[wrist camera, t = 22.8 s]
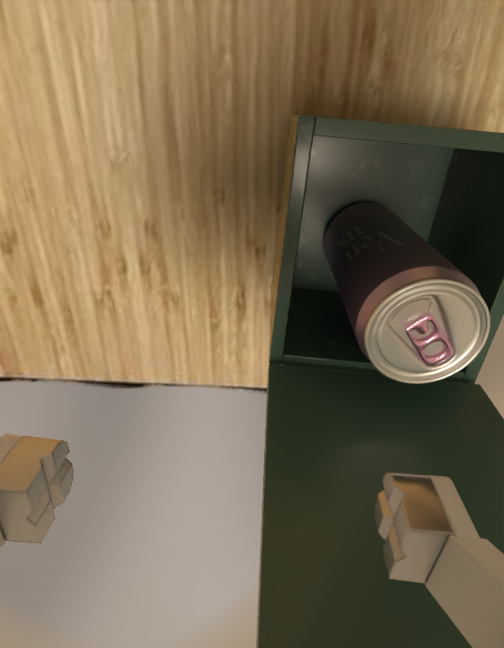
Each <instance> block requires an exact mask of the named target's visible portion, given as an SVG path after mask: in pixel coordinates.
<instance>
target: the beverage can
mask: <svg viewBox="0 0 504 648" xmlns="http://www.w3.org/2000/svg"><path fill="white" fill-rule="evenodd" d="M324 250H325V254H326V257H327V260H328V263H329V265H330V268H331V271H332V274H333V276H334V279H335V282H336V284H337V287H338V290H339V293H340V295H341V298H342V301H343V303H344V306H345V309H346V312H347V314H348V317H349V320H350V322H351V325H352V328H353V331H354V333H355V336H356V339H357V341H358V344H359V347H360V349H361V350H362V352H363V354H364V355H365V356H366V357H367V358H368V359H369V360H370V362H371V364H372V365H373V366H374V367H375V368H376V369H377V370H378V371H379V372H380V373H381V374H383V375H384V376H386V377H388V378H390V379H392V380H395V381H398V382H402V383H409V384H424V383H431V382H435V381H439V380H442V379H445V378H447V377H449V376H452V375H454V374H455V373H457V372H459V371H460V370H462V369H463V368H465V367H466V366H467V365H468V364H470V363H471V362H472V361H473V360H474V359H475V358H476V356H477V355H478V354H479V353H480V351H481V350H482V348H483V346H484V345H485V343H486V340H487V338H488V335H489V330H490V314H489V310H488V307H487V305H486V303H485V301H484V300H483V298H482V297H481V295H480V292H479V290H478V289H477V287H476V286H475V284H474V283H473V282H472V281H471V280H470V279H469V278H468V277H466V276H465V275H464V274H463V273H462V272H461V271H460V270H458V269H457V268H456V267H455V266H454V265H453V264H452V263H450V262H449V261H448V260H447V259H446V258H445V257H444V256H442V255H441V254H440V253H439V252H438V251H437V250H436V249H434V248H433V247H432V246H431V245H430V244H429V243H428V242H426V241H425V240H424V239H423V238H422V237H421V236H420V235H418V234H417V233H416V232H415V231H414V230H413V229H412V228H410V227H409V226H408V225H407V224H406V223H405V222H404V221H402V220H401V219H400V218H399V217H398V216H397V215H396V214H394V213H393V212H392V211H391V210H390V209H388V208H387V207H385V206H383V205H380V204H377V203H359V204H355V205H352V206H350V207H348V208H346V209H345V210H343V211H342V212H340V213H339V214H338V215H337V216H336V217H335V218H334V219H333V221H332V222H331V224H330V225H329V227H328V229H327V232H326V235H325V239H324Z"/></svg>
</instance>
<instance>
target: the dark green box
mask: <svg viewBox="0 0 504 648" xmlns="http://www.w3.org/2000/svg"><path fill="white" fill-rule="evenodd" d="M359 203H377V204H380V205H383V206H385V207H387V208H388V209H390V210H391V211H392V212H393V213H394V214H396V215H397V216H398V217H399V218H400V219H401V220H402V221H404V222H405V223H406V224H407V225H408V226H409V227H410V228H412V229H413V230H414V231H415V232H416V233H417V234H418V235H420V236H421V237H422V238H423V239H424V240H425V241H426V242H428V243H429V244H430V245H431V246H432V247H433V248H434V249H436V250H437V251H438V252H439V253H440V254H441V255H442V256H444V257H445V258H446V259H447V260H448V261H449V262H450V263H452V264H453V265H454V266H455V267H456V268H457V269H458V270H460V271H461V272H462V273H463V274H464V275H465V276H466V277H468V278H469V279H470V280H471V281H472V282H473V283H474V284H475V286H476V287H477V289H478V290H479V292H480V295H481V297H482V298H483V300H484V301H485V303H486V305H487V307H488V310H489V314H490V330H489V335H488V338H487V340H486V343H485V345H484V346H483V348H482V350H481V351H480V353H479V354H478V355H477V356H476V358H475V359H474V360H473V361H472V362H471V363H470V364H468V365H467V366H466V367H465V368H463V369H462V370H460V371H459V372H457V373H455V374H454V375H452V376H449V377H447V378H445V379H442V380H439V381H449V382H459V383H460V382H461V383H469V384H474V383H475V380H476V378H477V376H478V373H479V371H480V369H481V366H482V364H483V362H484V359H485V357H486V355H487V352H488V350H489V348H490V345H491V343H492V340H493V338H494V336H495V333H496V331H497V329H498V326H499V324H500V322H501V319H502V317H503V314H504V133H497V132H486V131H475V130H464V129H453V128H442V127H431V126H420V125H409V124H398V123H387V122H377V121H366V120H355V119H344V118H333V117H322V116H311V115H297V116H293V117H291V120H290V129H289V138H288V146H287V155H286V164H285V173H284V182H283V191H282V200H281V209H280V218H279V227H278V235H277V244H276V253H275V262H274V271H273V280H272V289H271V315H270V343H269V364H278V365H281V364H282V365H288V366H298V367H308V368H318V369H328V370H338V371H348V372H358V373H369V374H379V375H383V374H381V373H380V372H379V371H378V370H377V369H376V368H375V367H374V366H373V365H372V364H371V362H370V360H369V359H368V358H367V357H366V356H365V355H364V354H363V352H362V350H361V349H360V347H359V344H358V341H357V339H356V336H355V333H354V331H353V328H352V325H351V322H350V320H349V317H348V314H347V312H346V309H345V306H344V303H343V301H342V298H341V295H340V293H339V290H338V287H337V284H336V282H335V279H334V276H333V274H332V271H331V268H330V265H329V263H328V260H327V257H326V254H325V250H324V239H325V235H326V232H327V229H328V227H329V225H330V224H331V222H332V221H333V219H334V218H335V217H336V216H337V215H338V214H339V213H340V212H342V211H343V210H345V209H346V208H348V207H350V206H352V205H355V204H359Z"/></svg>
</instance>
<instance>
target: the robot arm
mask: <svg viewBox="0 0 504 648" xmlns="http://www.w3.org/2000/svg"><path fill="white" fill-rule="evenodd" d="M68 453H69V447H68V444H67V442H65V441H62V440H54V439H46V438H37V437H29V436H18V435H10V434H6V435H4V436H2V437H0V547H1V546H2V545H4V544H5V541H14V542H28V543H41V542H42V541H43V539H44V537H45V535H46V533H47V531H48V530H49V528H50V526H51V525H52V523H53V521H54V519H55V515H54V510H53V509H55V508H56V507H57V506H59V505H60V504H62V503H63V502H64V501H65V499H66V497H67V495H68V493H69V491H70V488H71V485H72V481H73V466H72V463H71V462H69V460H67V459H66V456H67V455H68ZM382 484H383V488H384V490H383V491H381V492H380V493H378V495H377V499H376V502H375V522H376V527H377V531H378V534H379V535H380V536H381V537H382V538H383V539H384V540H385V544H384V547H383V550H382V552H383V556H384V560H385V564H386V568H387V572H388V577H389V579H395V580H403V581H410V582H418V583H426V584H425V586H426V587H427V589H428V590H429V591H430V593H431V594H432V595H433V597H434V598H435V599H436V601H437V602H438V603H439V604H440V606H441V607H442V608H443V610H444V611H445V612H446V614H447V615H448V616H449V618H450V619H451V620H452V621H453V623H454V624H455V625H456V627H457V628H458V629H459V631H460V632H461V633H462V635H463V636H464V637H465V639H466V640H467V641H468V642H469V644H470V645H471V646H472V648H504V554H503V553H502V552H501V551H499V550H498V549H497V548H496V547H495V546H494V545H493V544H492V543H490V542H489V541H488V540H487V539H482V538H480V537H479V535H478V533H477V531H476V529H475V527H474V525H473V523H472V521H471V519H470V517H469V514H468V512H467V510H466V508H465V506H464V504H463V502H462V500H461V498H460V496H459V494H458V492H457V490H456V488H455V486H454V484H453V482H452V480H451V479H450V478H449V477H443V476H432V475H423V474H411V473H399V472H386V473H385V475H384V477H383V480H382Z"/></svg>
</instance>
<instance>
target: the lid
mask: <svg viewBox="0 0 504 648" xmlns="http://www.w3.org/2000/svg"><path fill="white" fill-rule="evenodd" d="M386 472H399V473H411V474H423V475H432V476H443V477H449V478H450V479H451V480H452V482H453V484H454V486H455V488H456V490H457V492H458V494H459V496H460V498H461V500H462V502H463V504H464V506H465V508H466V510H467V512H468V514H469V517H470V519H471V521H472V523H473V525H474V527H475V529H476V531H477V533H478V535H479V537H480V538H482V539H487V540H488V541H489V542H490V543H492V544H493V545H494V546H495V547H496V548H497V549H498V550H499V551H501V552H502V553H503V554H504V419H503V417H502V416H501V415H500V413H499V412H498V410H497V409H496V407H495V406H494V405H493V403H492V402H491V400H490V399H489V397H488V396H487V394H486V393H485V392H484V390H483V389H482V387H481V386H480V385H479V384H469V383H459V382H449V381H435V382H431V383H424V384H409V383H402V382H398V381H395V380H392V379H390V378H388V377H386V376H384V375H379V374H369V373H358V372H348V371H338V370H328V369H318V368H308V367H298V366H288V365H278V364H269V369H268V383H267V408H266V430H265V454H264V478H263V501H262V524H261V525H262V526H261V549H260V573H259V595H258V617H257V620H258V621H257V641H256V648H472V646H471V645H470V644H469V642H468V641H467V640H466V639H465V637H464V636H463V635H462V633H461V632H460V631H459V629H458V628H457V627H456V625H455V624H454V623H453V621H452V620H451V619H450V618H449V616H448V615H447V614H446V612H445V611H444V610H443V608H442V607H441V606H440V604H439V603H438V602H437V601H436V599H435V598H434V597H433V595H432V594H431V593H430V591H429V590H428V589H427V587H426V586H425V584H426V583H418V582H410V581H403V580H395V579H389V577H388V572H387V568H386V564H385V560H384V556H383V552H382V550H383V547H384V544H385V540H384V539H383V538H382V537H381V536H380V535H379V534H378V531H377V527H376V522H375V502H376V499H377V495H378V493H380V492H381V491H383V490H384V488H383V484H382V480H383V477H384V475H385V473H386Z"/></svg>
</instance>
